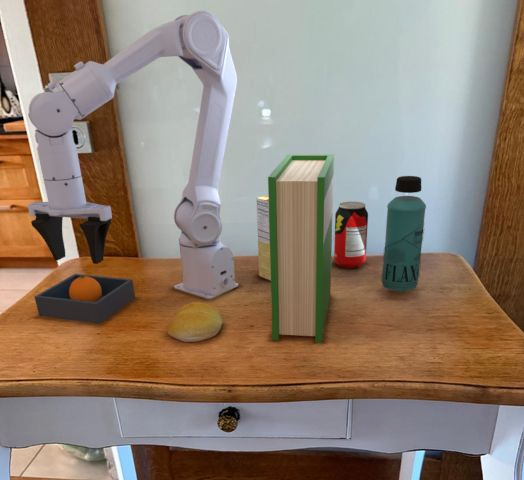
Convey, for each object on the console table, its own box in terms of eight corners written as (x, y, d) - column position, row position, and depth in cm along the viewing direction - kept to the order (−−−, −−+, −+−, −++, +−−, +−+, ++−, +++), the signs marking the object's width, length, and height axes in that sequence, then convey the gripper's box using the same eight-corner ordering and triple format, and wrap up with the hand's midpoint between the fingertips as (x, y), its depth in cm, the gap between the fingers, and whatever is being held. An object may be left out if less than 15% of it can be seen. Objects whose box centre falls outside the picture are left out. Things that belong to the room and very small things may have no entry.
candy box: (292, 265, 113) (291, 189, 105) (306, 270, 110) (306, 192, 102) (258, 276, 108) (254, 197, 100) (272, 282, 105) (269, 200, 98)
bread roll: (162, 343, 84) (158, 319, 82) (180, 318, 92) (177, 296, 90) (214, 345, 83) (212, 321, 81) (228, 320, 90) (226, 297, 88)
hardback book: (321, 342, 82) (324, 177, 71) (272, 339, 84) (268, 177, 72) (330, 296, 98) (334, 154, 86) (288, 295, 99) (287, 154, 88)
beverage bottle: (376, 297, 97) (384, 180, 87) (384, 283, 102) (392, 172, 93) (414, 301, 94) (427, 181, 85) (420, 287, 100) (432, 173, 90)
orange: (110, 304, 97) (105, 274, 94) (84, 315, 93) (78, 283, 91) (92, 298, 100) (86, 268, 97) (66, 308, 97) (59, 277, 94)
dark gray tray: (135, 299, 100) (132, 279, 98) (100, 325, 90) (96, 303, 89) (78, 292, 103) (74, 273, 102) (39, 317, 94) (34, 296, 92)
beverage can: (364, 258, 115) (367, 200, 109) (366, 269, 109) (369, 208, 103) (333, 259, 115) (335, 201, 110) (334, 269, 110) (336, 208, 104)
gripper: (7, 180, 85) (27, 264, 92) (86, 183, 81) (102, 271, 87) (37, 171, 91) (54, 251, 97) (113, 174, 87) (126, 257, 93)
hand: (79, 260), depth 93 cm, fingers open, 7 cm apart
